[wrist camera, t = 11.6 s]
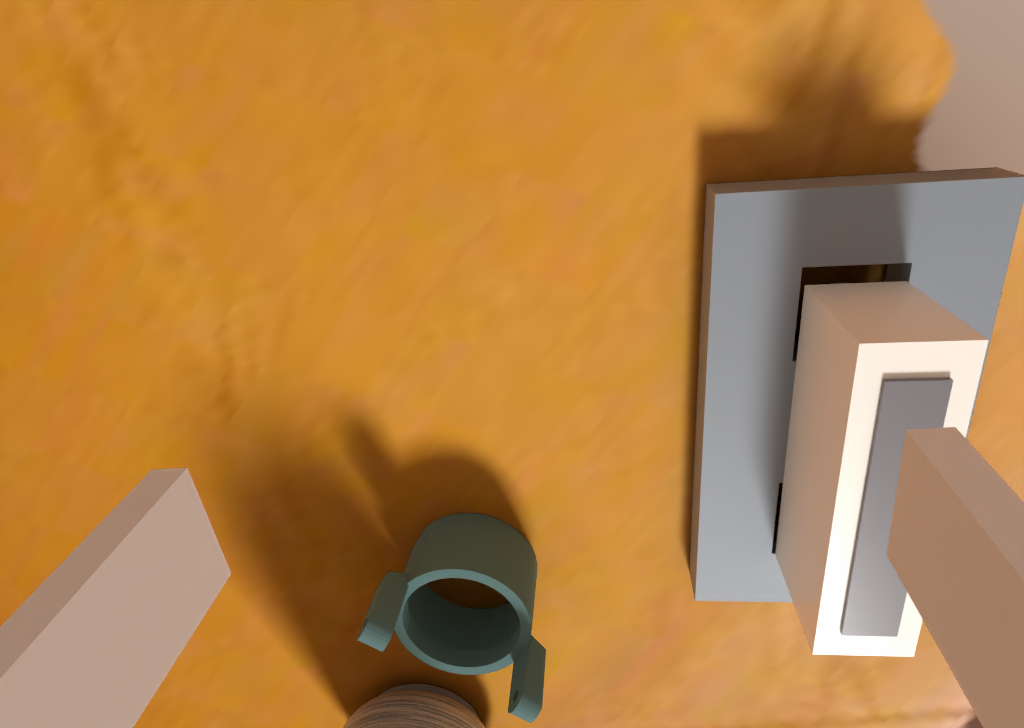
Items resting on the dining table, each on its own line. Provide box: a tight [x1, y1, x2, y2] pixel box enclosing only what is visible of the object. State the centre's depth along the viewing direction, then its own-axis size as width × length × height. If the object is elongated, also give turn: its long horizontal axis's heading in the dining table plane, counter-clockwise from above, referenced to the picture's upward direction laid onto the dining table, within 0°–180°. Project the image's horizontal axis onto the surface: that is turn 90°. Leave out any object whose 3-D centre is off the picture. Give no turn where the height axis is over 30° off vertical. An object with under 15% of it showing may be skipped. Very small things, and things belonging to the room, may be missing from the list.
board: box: [689, 167, 1024, 602], centre depth 36 cm, size 24×13×2 cm, turn 4°
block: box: [775, 281, 989, 657], centre depth 32 cm, size 16×4×9 cm, turn 4°
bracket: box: [357, 513, 546, 723], centre depth 40 cm, size 9×9×9 cm
